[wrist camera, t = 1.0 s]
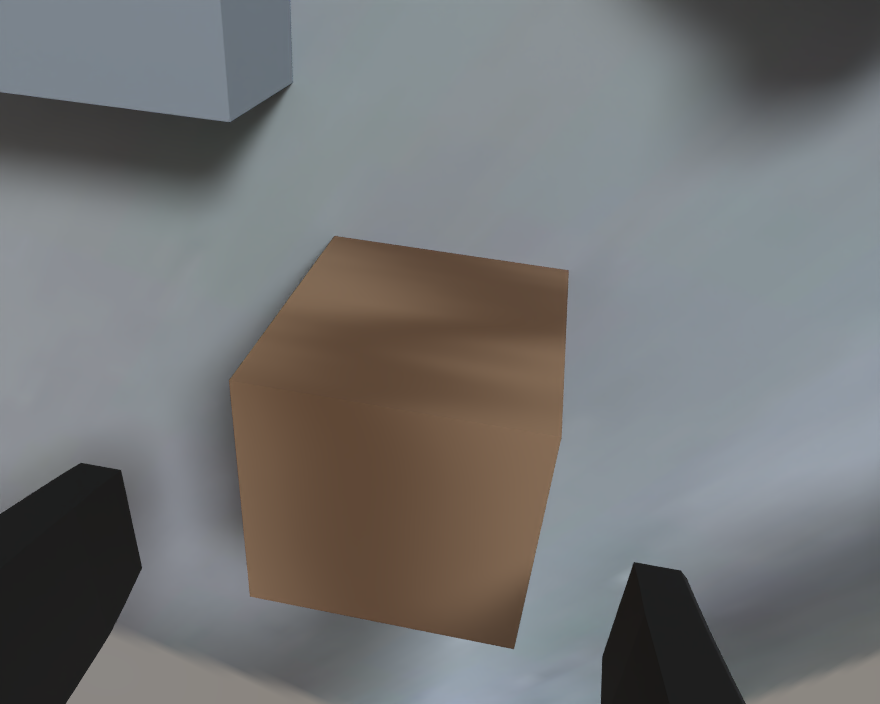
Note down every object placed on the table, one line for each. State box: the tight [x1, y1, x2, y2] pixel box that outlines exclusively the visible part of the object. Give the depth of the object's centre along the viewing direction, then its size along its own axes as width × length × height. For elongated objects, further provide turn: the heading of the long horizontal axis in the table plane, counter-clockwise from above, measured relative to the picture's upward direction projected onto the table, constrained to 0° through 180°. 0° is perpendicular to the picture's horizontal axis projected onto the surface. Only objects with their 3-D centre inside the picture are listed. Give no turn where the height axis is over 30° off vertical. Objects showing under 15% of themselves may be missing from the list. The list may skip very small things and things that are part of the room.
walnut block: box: [229, 236, 569, 649], centre depth 13 cm, size 4×4×5 cm
